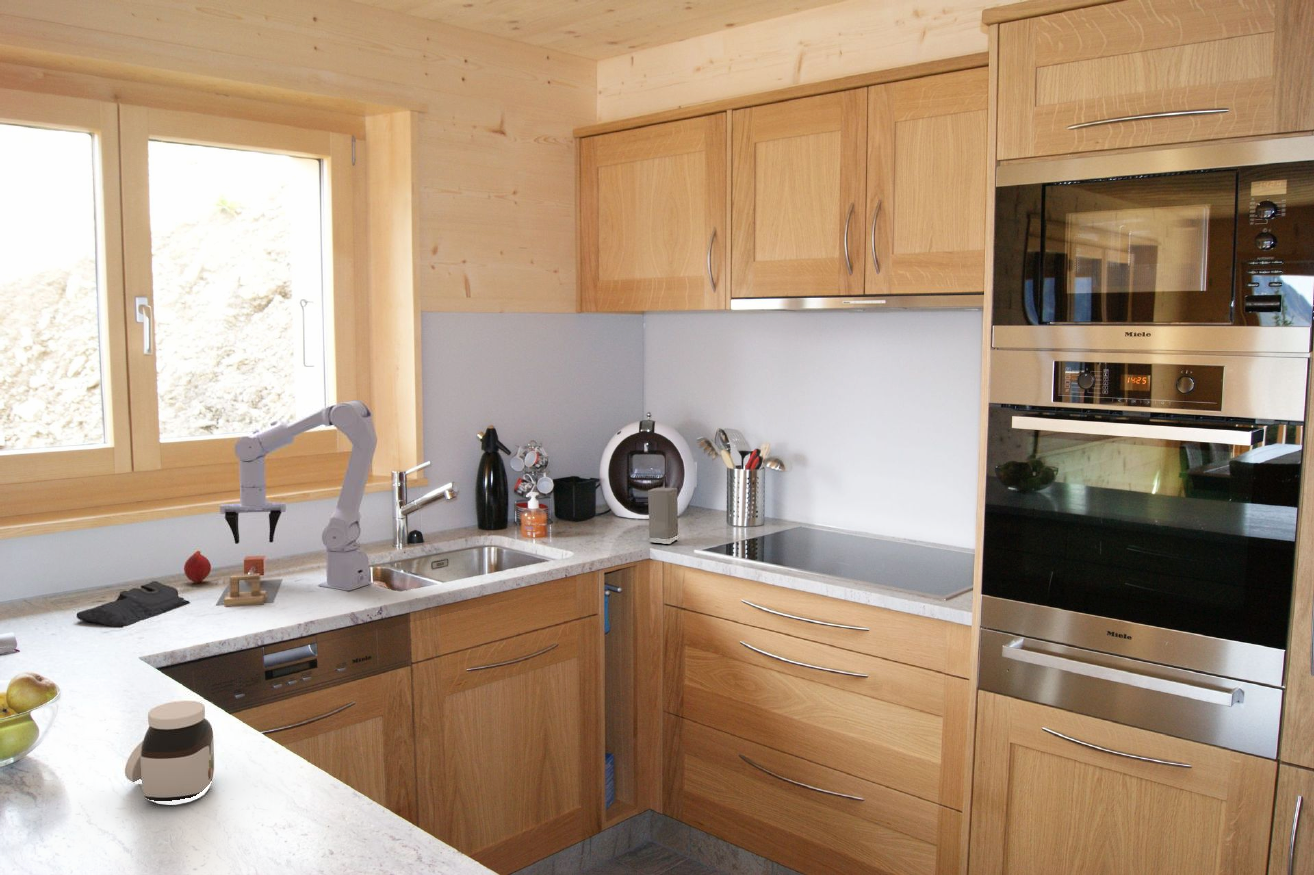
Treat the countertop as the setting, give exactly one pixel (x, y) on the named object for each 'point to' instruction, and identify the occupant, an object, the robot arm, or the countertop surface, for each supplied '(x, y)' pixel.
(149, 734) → the spread jar
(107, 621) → the black folded cloth
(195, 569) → the onion
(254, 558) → the copper cube mallet
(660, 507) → the skincare box
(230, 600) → the wooden arch frame
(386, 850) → the countertop surface
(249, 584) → the gray panel
